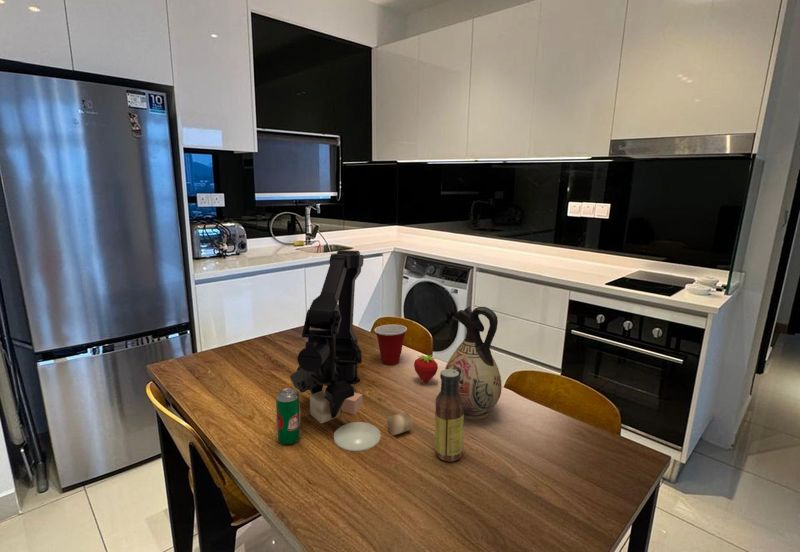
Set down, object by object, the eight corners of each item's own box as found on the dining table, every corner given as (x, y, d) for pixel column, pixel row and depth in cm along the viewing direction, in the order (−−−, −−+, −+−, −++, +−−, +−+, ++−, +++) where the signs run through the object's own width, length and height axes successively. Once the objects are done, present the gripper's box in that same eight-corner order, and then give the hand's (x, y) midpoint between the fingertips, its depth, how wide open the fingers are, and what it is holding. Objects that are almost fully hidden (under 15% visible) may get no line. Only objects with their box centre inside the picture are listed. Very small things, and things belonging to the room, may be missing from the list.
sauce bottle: (464, 449, 97) (470, 369, 93) (459, 466, 92) (464, 381, 87) (436, 443, 99) (440, 364, 95) (429, 459, 94) (433, 376, 89)
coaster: (362, 418, 109) (362, 417, 108) (389, 439, 100) (389, 437, 100) (325, 434, 102) (325, 432, 101) (351, 457, 93) (351, 455, 93)
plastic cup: (388, 352, 150) (388, 320, 147) (412, 361, 144) (413, 327, 141) (367, 362, 142) (367, 328, 139) (392, 371, 135) (392, 336, 133)
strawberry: (418, 375, 133) (419, 345, 131) (440, 381, 130) (442, 351, 127) (409, 383, 128) (410, 352, 126) (432, 389, 125) (433, 357, 122)
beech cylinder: (386, 413, 104) (402, 408, 106) (387, 430, 104) (402, 425, 107) (396, 421, 100) (412, 416, 102) (396, 438, 101) (412, 433, 103)
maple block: (328, 407, 114) (328, 388, 113) (339, 416, 110) (339, 396, 108) (310, 414, 110) (309, 395, 109) (321, 423, 106) (320, 403, 105)
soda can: (292, 448, 96) (290, 400, 93) (273, 443, 98) (271, 395, 95) (304, 436, 101) (303, 389, 98) (286, 431, 102) (284, 385, 100)
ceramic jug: (428, 411, 113) (433, 303, 106) (462, 391, 124) (468, 292, 117) (484, 438, 102) (493, 319, 95) (515, 413, 113) (525, 305, 106)
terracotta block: (349, 404, 116) (349, 390, 115) (362, 407, 114) (362, 394, 113) (341, 411, 112) (341, 397, 111) (354, 415, 110) (354, 401, 109)
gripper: (277, 350, 108) (279, 405, 111) (314, 376, 94) (315, 439, 98) (316, 340, 115) (317, 393, 119) (355, 363, 101) (355, 422, 105)
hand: (325, 410), depth 110 cm, fingers open, 8 cm apart
